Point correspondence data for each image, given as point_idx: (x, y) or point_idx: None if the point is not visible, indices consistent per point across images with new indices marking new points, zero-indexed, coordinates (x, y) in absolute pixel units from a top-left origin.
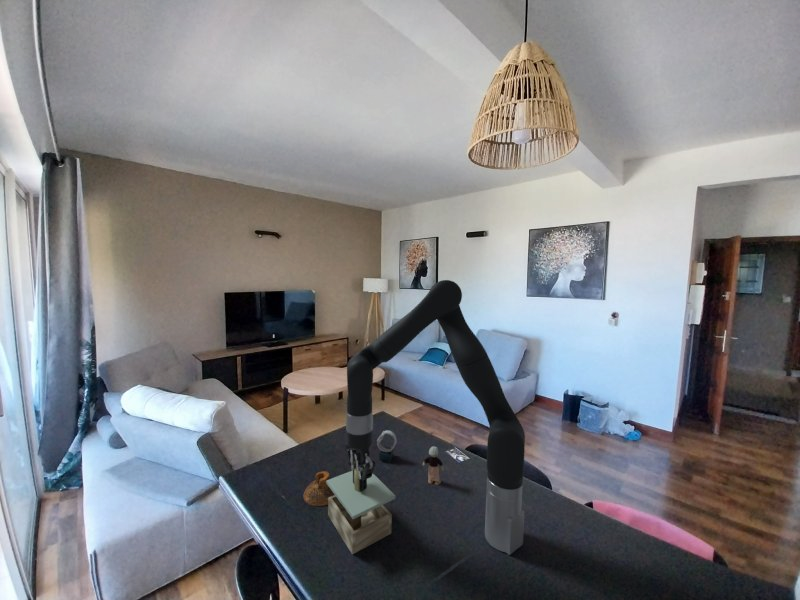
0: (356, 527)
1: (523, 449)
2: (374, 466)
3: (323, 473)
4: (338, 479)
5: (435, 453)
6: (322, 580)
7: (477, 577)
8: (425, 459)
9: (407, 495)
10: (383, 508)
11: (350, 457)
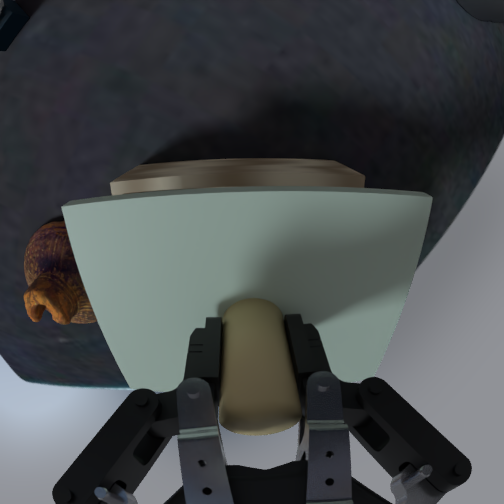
0: None
1: None
2: (455, 448)
3: (33, 306)
4: (137, 361)
5: None
6: None
7: (497, 100)
8: None
9: (206, 6)
10: (317, 184)
11: (149, 461)
